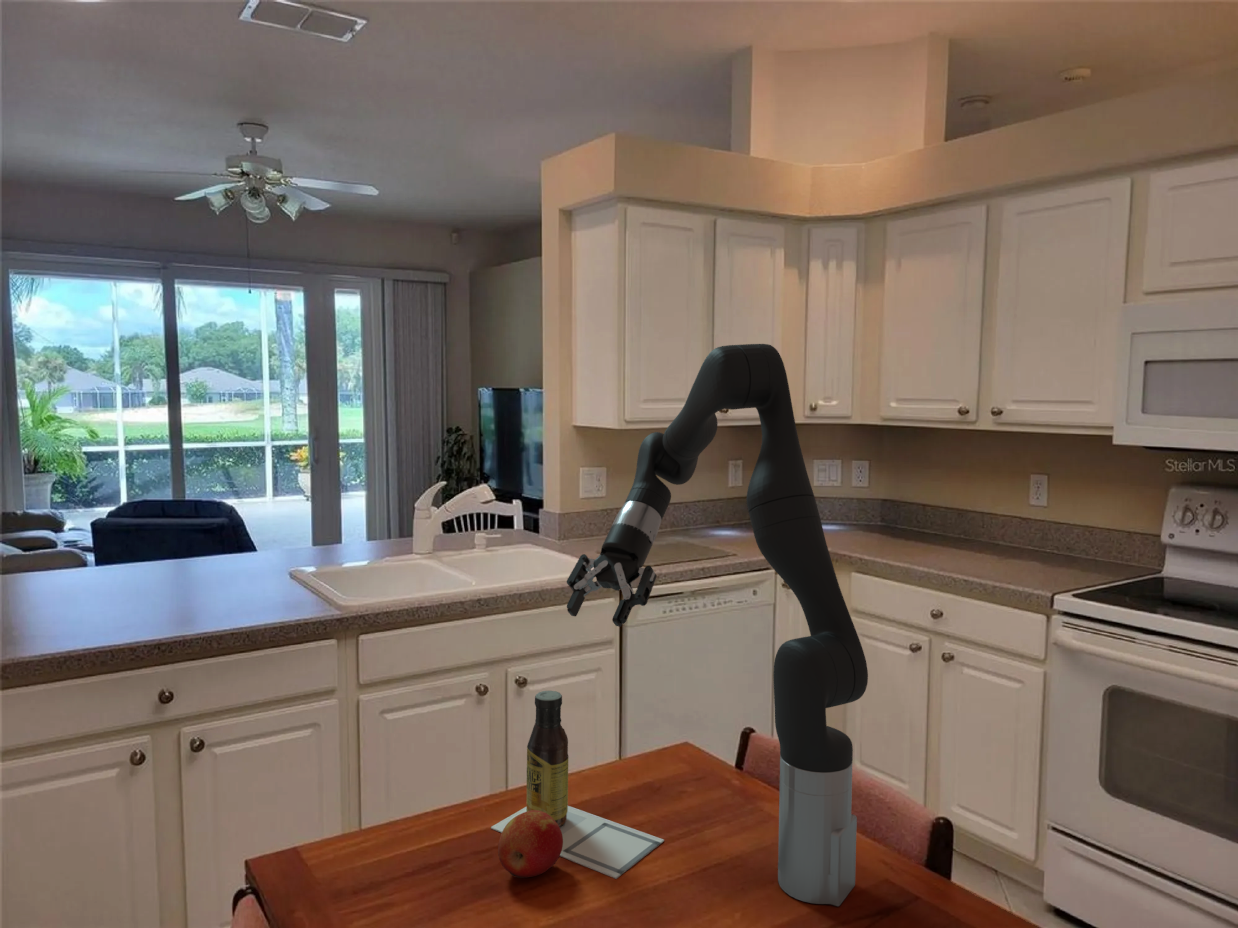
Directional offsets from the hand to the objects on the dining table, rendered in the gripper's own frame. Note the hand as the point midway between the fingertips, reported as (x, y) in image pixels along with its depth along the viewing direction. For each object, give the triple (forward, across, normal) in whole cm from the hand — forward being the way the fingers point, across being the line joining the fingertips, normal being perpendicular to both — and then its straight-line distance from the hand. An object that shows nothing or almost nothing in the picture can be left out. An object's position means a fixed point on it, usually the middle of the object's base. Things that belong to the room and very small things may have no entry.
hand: (593, 618), depth 133 cm
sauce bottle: (+29, 0, +12) cm, 31 cm away
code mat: (+29, +5, +12) cm, 31 cm away
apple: (+37, +6, +3) cm, 37 cm away
